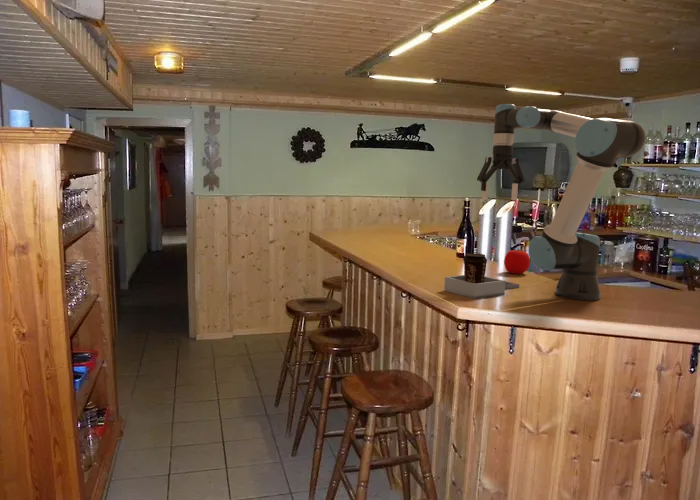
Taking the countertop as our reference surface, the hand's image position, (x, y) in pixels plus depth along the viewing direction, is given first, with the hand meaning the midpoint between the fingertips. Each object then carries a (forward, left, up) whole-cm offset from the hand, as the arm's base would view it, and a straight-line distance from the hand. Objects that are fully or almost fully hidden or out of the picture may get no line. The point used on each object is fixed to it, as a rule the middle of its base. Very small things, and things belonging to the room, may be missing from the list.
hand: (499, 199), depth 215 cm
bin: (-12, +25, -33) cm, 43 cm away
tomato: (+8, -23, -33) cm, 41 cm away
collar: (-6, +9, -33) cm, 34 cm away
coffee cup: (-11, +24, -32) cm, 42 cm away
